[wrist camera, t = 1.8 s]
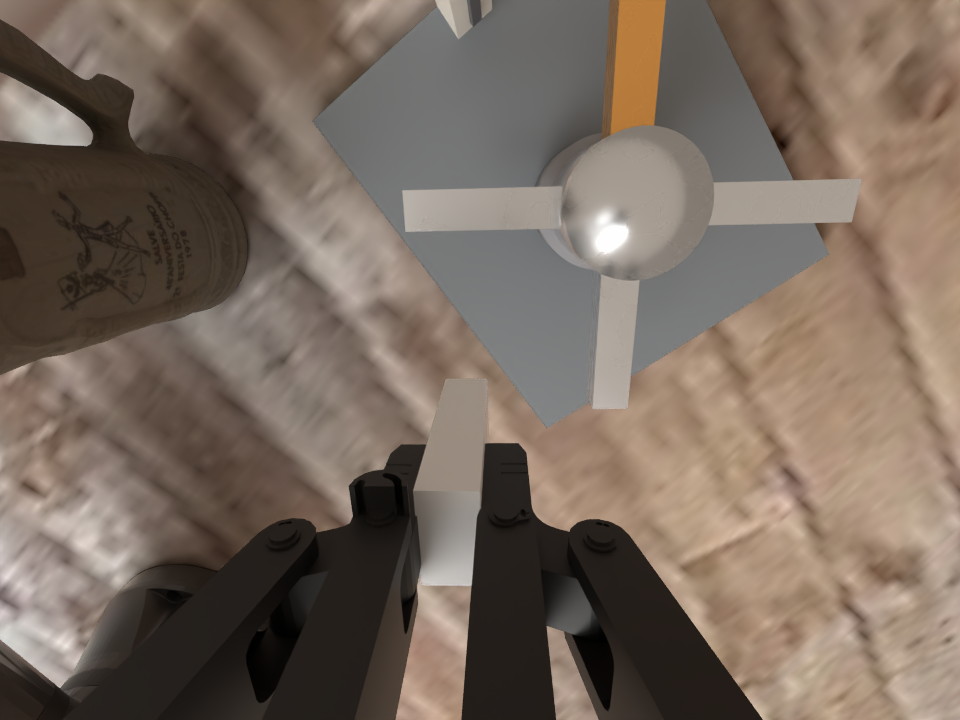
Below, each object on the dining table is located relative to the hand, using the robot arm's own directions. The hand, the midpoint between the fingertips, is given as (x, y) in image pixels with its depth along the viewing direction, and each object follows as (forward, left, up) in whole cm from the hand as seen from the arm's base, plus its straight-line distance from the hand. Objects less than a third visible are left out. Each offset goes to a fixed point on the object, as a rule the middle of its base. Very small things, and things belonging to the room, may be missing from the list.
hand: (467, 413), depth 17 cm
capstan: (+10, +2, -11) cm, 15 cm away
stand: (+10, +2, -18) cm, 20 cm away
